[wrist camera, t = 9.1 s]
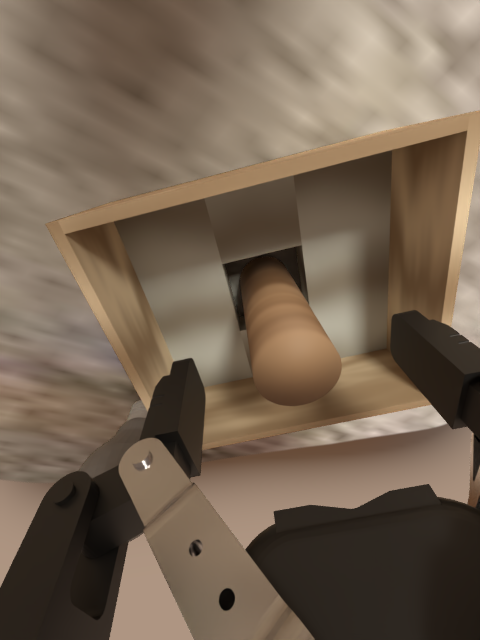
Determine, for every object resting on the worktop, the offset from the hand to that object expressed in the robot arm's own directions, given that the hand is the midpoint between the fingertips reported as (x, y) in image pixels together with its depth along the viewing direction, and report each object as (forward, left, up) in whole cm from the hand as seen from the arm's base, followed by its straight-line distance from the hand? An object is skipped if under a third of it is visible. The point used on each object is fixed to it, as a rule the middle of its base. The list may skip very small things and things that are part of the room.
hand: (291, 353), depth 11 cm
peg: (0, 0, -9) cm, 9 cm away
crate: (0, 0, -9) cm, 9 cm away
